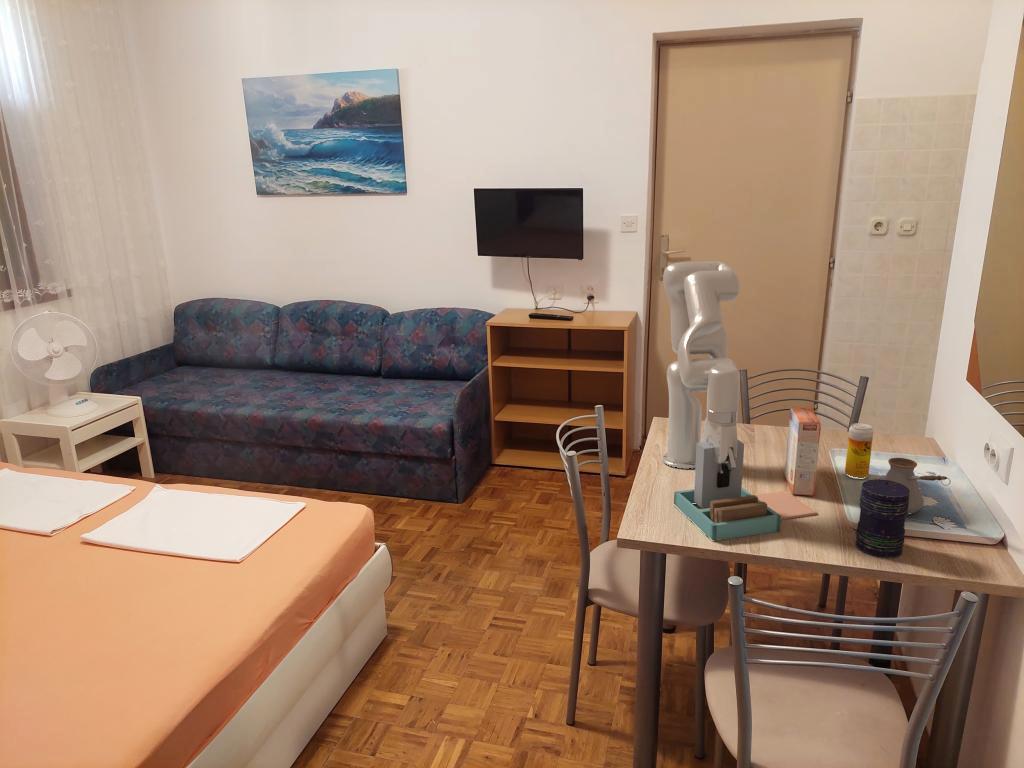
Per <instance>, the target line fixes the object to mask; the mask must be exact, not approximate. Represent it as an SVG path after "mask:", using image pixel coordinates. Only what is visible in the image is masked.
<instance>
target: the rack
mask: <svg viewBox="0 0 1024 768" xmlns="http://www.w3.org/2000/svg"><path fill="white" fill-rule="evenodd" d="M751 495H753V494H752V493H750V492H749V491H748V490H746V489H744V488H743V487H742V488H741V497H744V496H751ZM758 502H761V501H760V500H758ZM692 503H695V502H694V488H693V489H684V490H677V491H674V492H673V505H674V504H675V505H676V506H677V507H678V508H679V509H680V510H681V511H682V512H683V513H684V514H685V515H686V516H687V517H689V519H691V520H692V521H693V522H694V523H695V524H696V525H697V526H698V527H699V528H700V529H701V530H702V531H703V532H704V533H705V534H706V535H707V536H709V537H710V538H711V539H712V540H717V539H718V541H720V540H719V539H724V540H728V539H727V538H731V539H736V538H735V537H737V538H742V537H749V536H756V535H763V534H770V533H776V532H780V531H781V524H782V523H781V522H782V520H781V516H780V515H779V514H778V513H776V512H775V511H774V510H772V509H771V508H769V507H768V506H767V514H766V516H763V517H756V518H749V519H742V520H735V521H729V522H722V523H714V522H712V521H711V520H710V508H708V509H699V508H698V507H696V506H695V505H693V504H692ZM689 519H688V520H689ZM701 530H700V531H701ZM702 531H701V532H702ZM703 532H702V533H703ZM704 533H703V534H704ZM705 534H704V535H705ZM706 535H705V536H706ZM707 536H706V537H707Z"/></svg>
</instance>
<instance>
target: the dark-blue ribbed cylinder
mask: <svg viewBox="0 0 1024 768" xmlns="http://www.w3.org/2000/svg"><path fill="white" fill-rule="evenodd" d="M909 495H910V490H909V488H908V487H906V486H905V485H903V484H900V483H897V482H894V481H889V480H883V479H868V480H865V481H863V482H862V485H861V491H860V496H859V509H860V510H859V520H858V522H857V528H856V541H855V547H856V548H857V550H858V551H860V552H862V553H864V554H865V555H867V556H871V557H873V558H879V559H895V558H898V557H900V556H901V555H902V554H903V548H904V544H905V538H906V537H905V535H906V534H905V533H906V529H905V524H906V517H907V516H908V515H907V513H908V507H909Z"/></svg>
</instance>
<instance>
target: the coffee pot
mask: <svg viewBox="0 0 1024 768" xmlns="http://www.w3.org/2000/svg"><path fill="white" fill-rule="evenodd" d="M888 464H889V466H890V468H889V470H888V471H887V473H886V474H885V476H884V478H883V479H882V480H889V481H894V482H897V483H900V484H903V485H905V486H906V487H908V488H909V490H910V495H909V507H908V513H907V514H909V513H913V514H914V513H917V512H918V511H920V510H921V509H922V507H924V505H925V500H924V498H923V494H922V492H921V489H920V486H919V484H918V481H917V480H921V481H931V482H932V481H940V483H941V484H942V485H943V486H946V487H947V486H949V485H950V484H951V479H950V478H948V477H947V476H945V475H942V476H941V475H934V474H933V475H932V474H931V475H920V476H918V475H916V476H915V472H914V470H915V468H916V467H917V466H918V463H917V462H916V461H914V460H912V459H909V458H905V457H891V458H889V459H888ZM945 480H948V481H949V483H948V484H944V483H943V481H945Z"/></svg>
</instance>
